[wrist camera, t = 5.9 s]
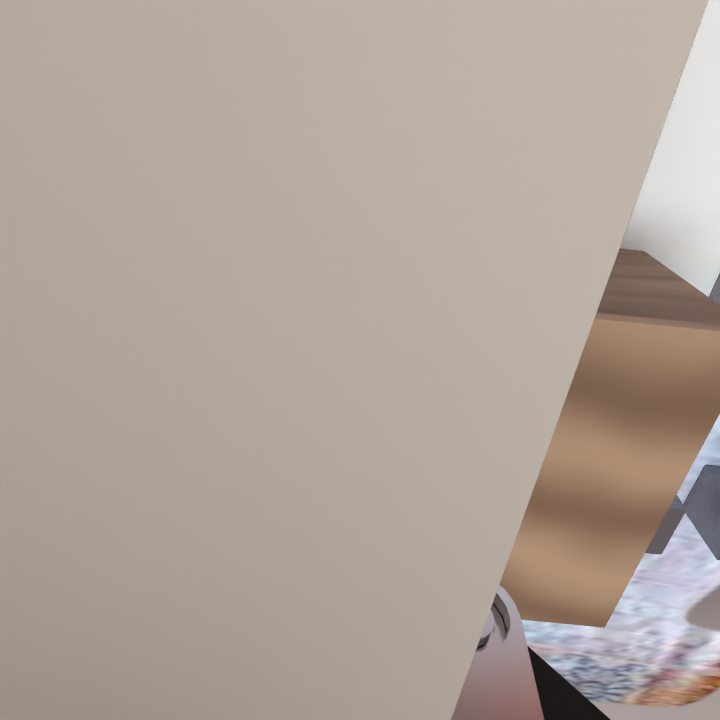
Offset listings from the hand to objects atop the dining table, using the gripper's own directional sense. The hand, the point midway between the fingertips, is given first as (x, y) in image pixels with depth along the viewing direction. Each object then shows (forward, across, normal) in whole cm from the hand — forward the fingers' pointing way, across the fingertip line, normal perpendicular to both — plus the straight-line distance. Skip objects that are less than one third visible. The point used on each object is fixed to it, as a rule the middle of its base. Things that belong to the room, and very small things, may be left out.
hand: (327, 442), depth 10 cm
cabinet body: (+20, -11, +9) cm, 24 cm away
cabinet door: (+5, 0, 0) cm, 5 cm away
